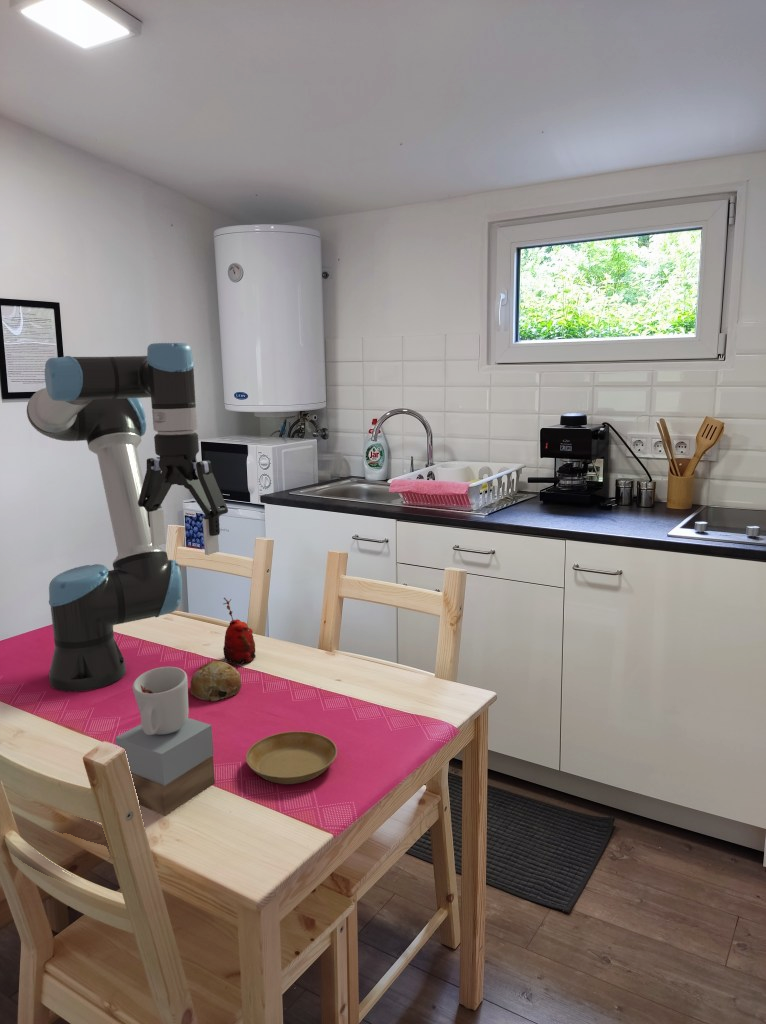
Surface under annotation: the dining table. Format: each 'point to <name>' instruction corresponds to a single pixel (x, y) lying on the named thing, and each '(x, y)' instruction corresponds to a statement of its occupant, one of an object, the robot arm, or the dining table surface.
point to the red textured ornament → (238, 641)
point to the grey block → (167, 750)
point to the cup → (162, 700)
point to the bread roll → (215, 681)
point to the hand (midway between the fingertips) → (184, 549)
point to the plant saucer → (291, 756)
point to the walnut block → (174, 788)
